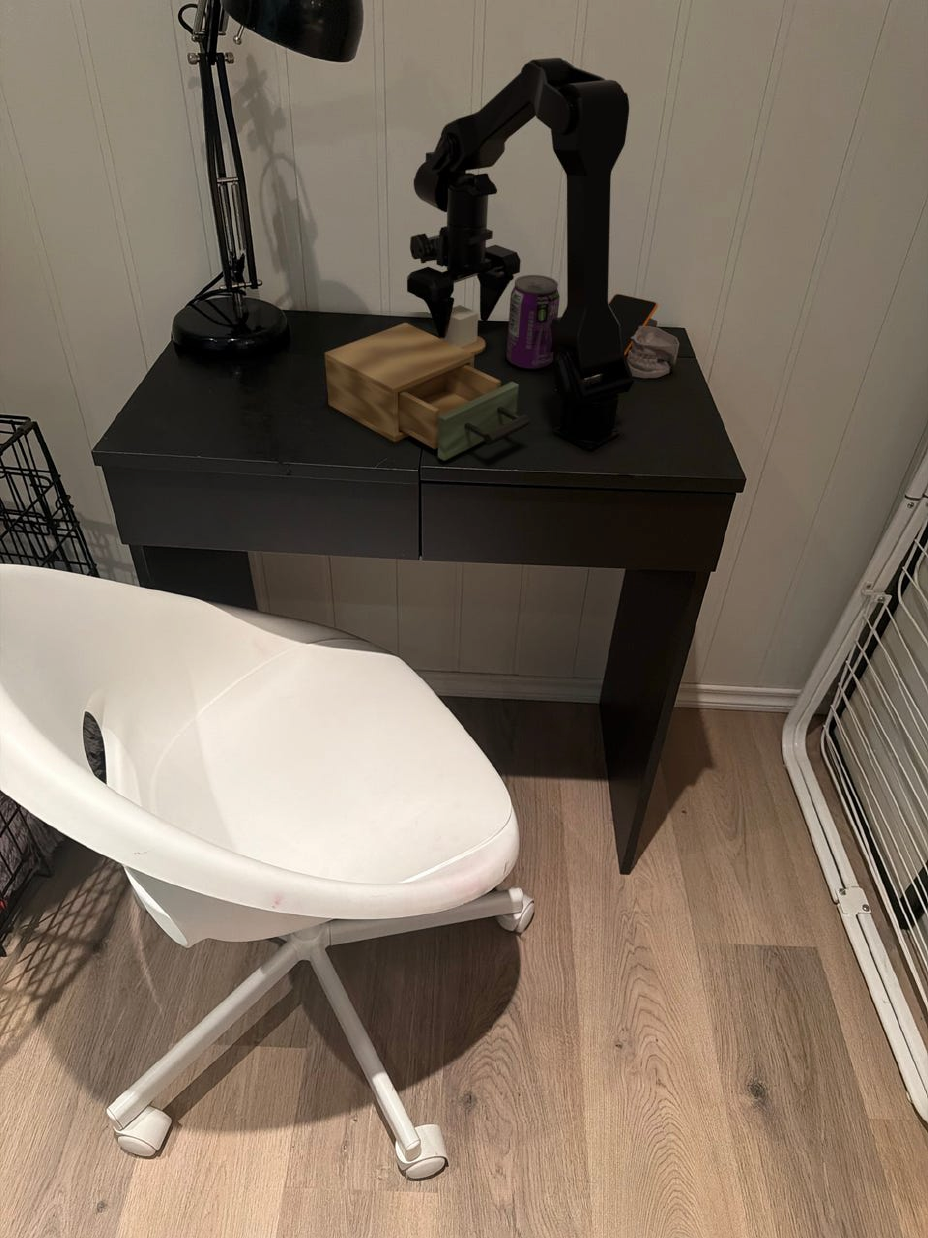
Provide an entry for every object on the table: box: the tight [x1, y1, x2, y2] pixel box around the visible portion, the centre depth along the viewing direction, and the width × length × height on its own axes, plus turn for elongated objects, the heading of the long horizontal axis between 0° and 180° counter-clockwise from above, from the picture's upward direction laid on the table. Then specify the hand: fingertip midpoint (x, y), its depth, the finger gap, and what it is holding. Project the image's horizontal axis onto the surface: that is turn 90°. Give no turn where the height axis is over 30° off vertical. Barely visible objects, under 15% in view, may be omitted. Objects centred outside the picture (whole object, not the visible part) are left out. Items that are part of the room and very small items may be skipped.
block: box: [440, 304, 479, 348], centre depth 130 cm, size 4×4×4 cm
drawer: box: [398, 364, 531, 462], centre depth 109 cm, size 17×13×6 cm
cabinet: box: [323, 322, 475, 443], centre depth 115 cm, size 14×15×8 cm
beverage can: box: [505, 274, 560, 370], centre depth 124 cm, size 7×7×12 cm
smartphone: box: [601, 293, 659, 375], centre depth 129 cm, size 8×17×1 cm, turn 147°
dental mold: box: [626, 326, 680, 379], centre depth 126 cm, size 8×7×5 cm
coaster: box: [461, 335, 486, 356], centre depth 132 cm, size 7×7×1 cm
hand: (463, 328), depth 130 cm, fingers open, 9 cm apart
